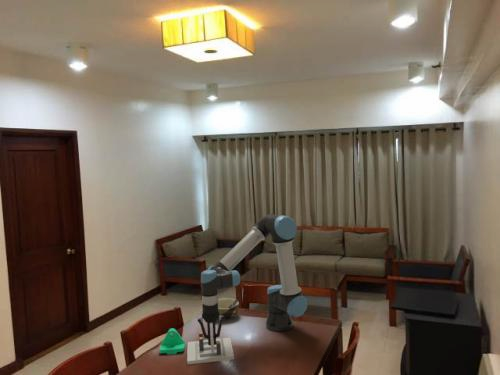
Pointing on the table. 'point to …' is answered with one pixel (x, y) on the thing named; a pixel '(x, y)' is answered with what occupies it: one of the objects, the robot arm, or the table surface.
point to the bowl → (228, 307)
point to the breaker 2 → (218, 347)
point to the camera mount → (172, 343)
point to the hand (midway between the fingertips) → (212, 351)
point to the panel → (209, 352)
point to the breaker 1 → (201, 343)
